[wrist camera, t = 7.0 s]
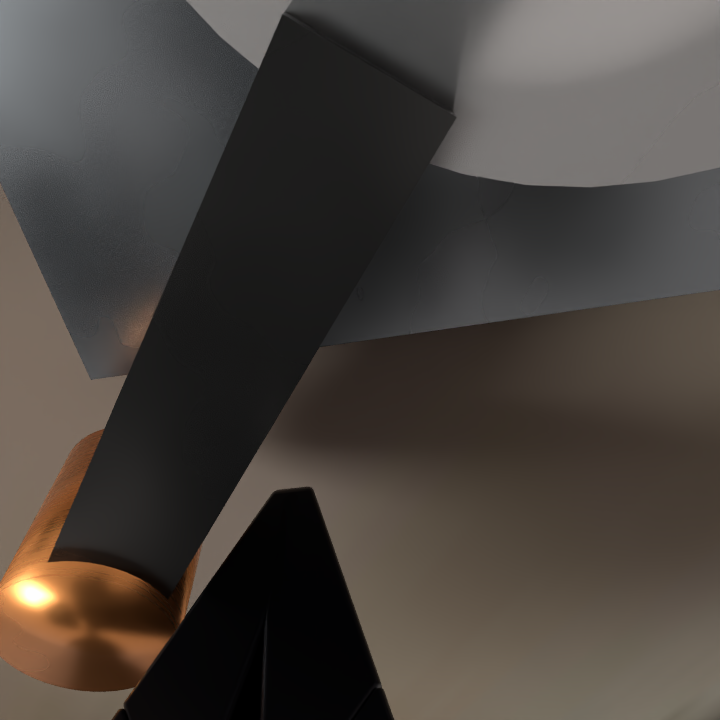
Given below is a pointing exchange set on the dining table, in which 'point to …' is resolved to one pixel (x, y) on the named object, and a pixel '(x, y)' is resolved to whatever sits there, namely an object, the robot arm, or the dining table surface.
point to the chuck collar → (327, 260)
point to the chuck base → (200, 159)
